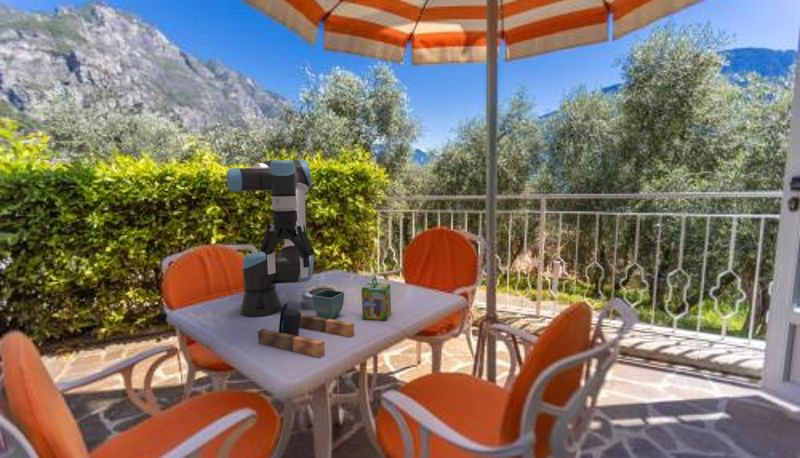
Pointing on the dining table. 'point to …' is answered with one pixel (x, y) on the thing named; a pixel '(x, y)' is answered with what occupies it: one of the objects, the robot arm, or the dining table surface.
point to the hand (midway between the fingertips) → (287, 275)
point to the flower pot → (328, 303)
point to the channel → (304, 343)
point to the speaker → (289, 321)
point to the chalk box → (376, 301)
